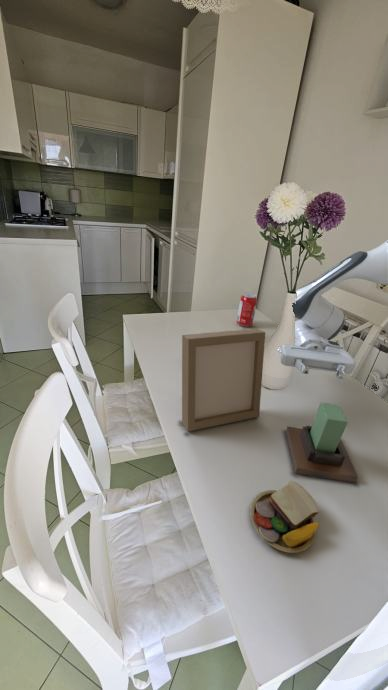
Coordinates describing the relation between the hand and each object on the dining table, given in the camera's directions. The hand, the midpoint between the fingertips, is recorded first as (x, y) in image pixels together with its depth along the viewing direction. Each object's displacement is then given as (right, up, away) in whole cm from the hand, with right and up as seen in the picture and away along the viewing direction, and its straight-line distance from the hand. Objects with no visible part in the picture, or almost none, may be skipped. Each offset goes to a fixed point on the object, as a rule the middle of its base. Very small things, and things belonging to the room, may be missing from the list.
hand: (323, 373), depth 81 cm
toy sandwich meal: (-17, -27, -20) cm, 38 cm away
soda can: (-10, +18, +68) cm, 71 cm away
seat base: (-3, -20, -3) cm, 21 cm away
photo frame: (-29, -11, +9) cm, 32 cm away
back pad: (-3, -18, -4) cm, 19 cm away
